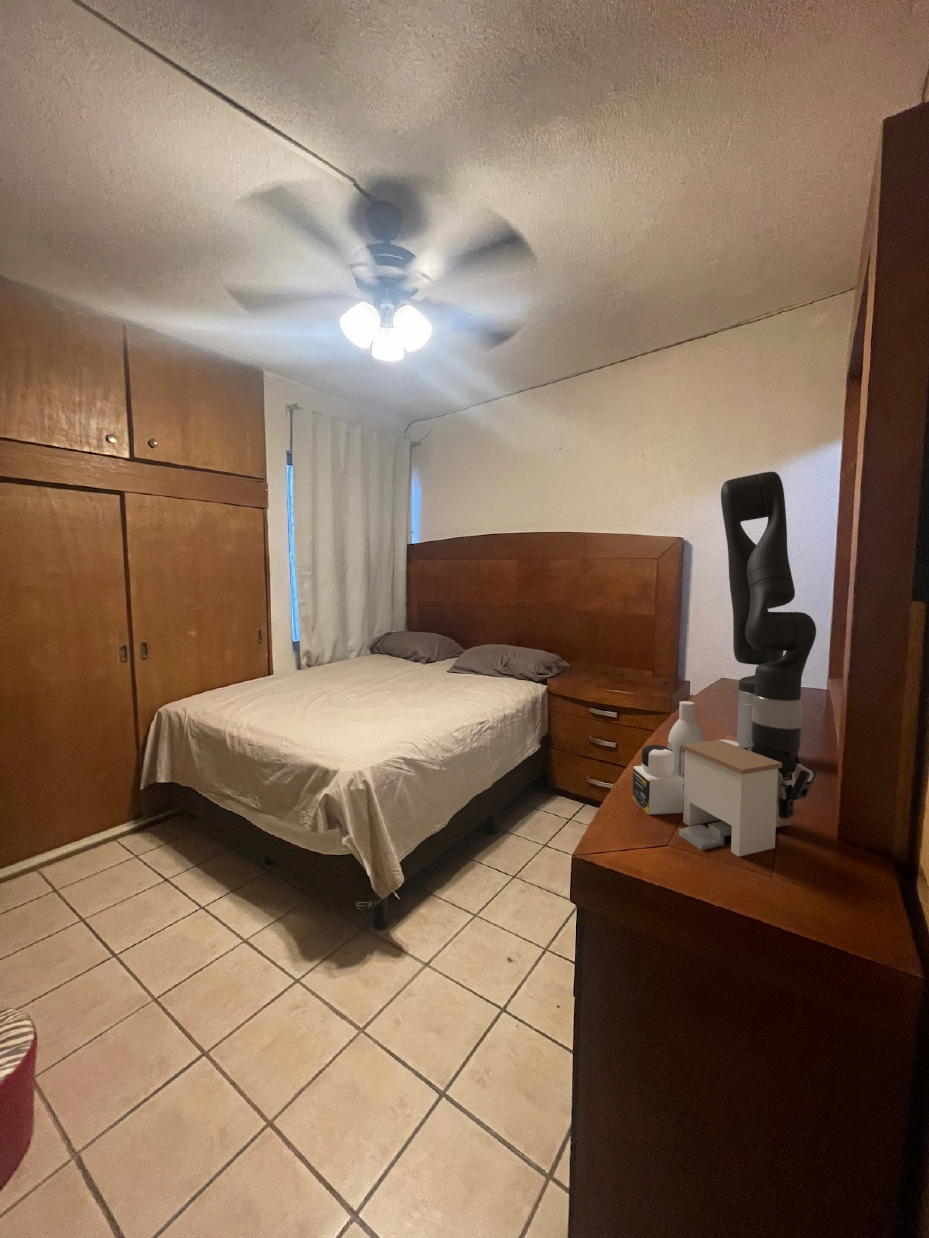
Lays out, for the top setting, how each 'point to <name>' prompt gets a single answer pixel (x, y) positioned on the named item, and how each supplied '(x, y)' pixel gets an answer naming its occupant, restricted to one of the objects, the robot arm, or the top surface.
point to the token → (701, 837)
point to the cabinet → (732, 792)
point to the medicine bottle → (658, 782)
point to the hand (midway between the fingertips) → (772, 811)
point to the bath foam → (684, 736)
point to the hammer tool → (726, 829)
